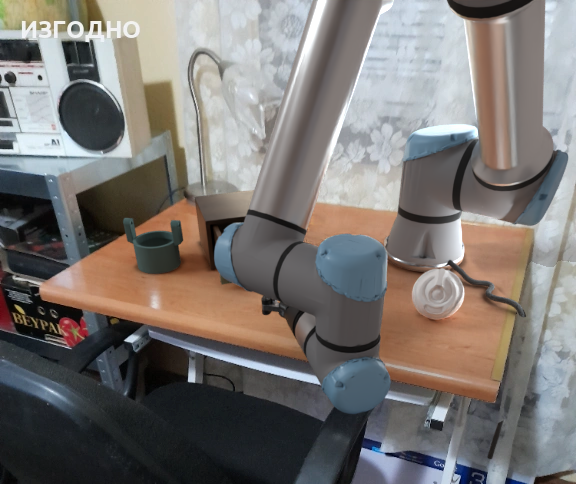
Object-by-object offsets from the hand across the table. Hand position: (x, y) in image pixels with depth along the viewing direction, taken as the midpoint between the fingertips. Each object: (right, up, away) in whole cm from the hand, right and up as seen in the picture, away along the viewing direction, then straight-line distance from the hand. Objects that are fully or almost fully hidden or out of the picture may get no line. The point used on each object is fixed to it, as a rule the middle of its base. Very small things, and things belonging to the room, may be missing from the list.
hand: (275, 255), depth 89 cm
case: (-8, +5, +17) cm, 20 cm away
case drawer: (-6, 0, +10) cm, 11 cm away
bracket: (-23, +2, +14) cm, 27 cm away
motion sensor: (+26, -11, -3) cm, 28 cm away
